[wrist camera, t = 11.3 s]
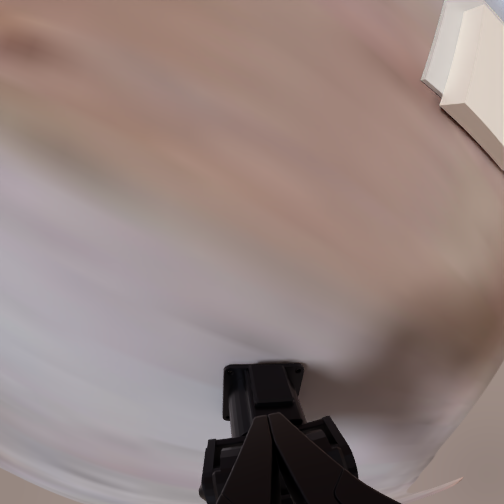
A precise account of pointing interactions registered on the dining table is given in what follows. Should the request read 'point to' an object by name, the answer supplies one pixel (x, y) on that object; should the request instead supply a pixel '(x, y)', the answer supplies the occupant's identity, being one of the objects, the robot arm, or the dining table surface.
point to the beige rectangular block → (479, 81)
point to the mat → (447, 42)
